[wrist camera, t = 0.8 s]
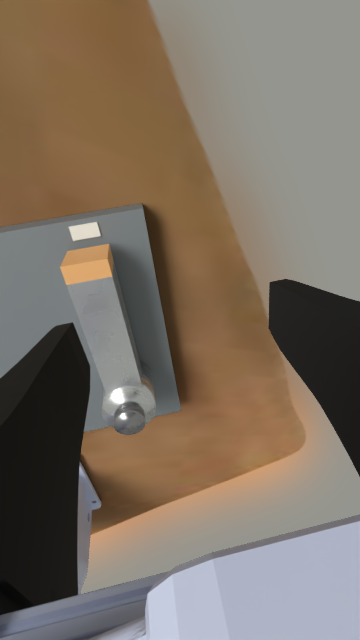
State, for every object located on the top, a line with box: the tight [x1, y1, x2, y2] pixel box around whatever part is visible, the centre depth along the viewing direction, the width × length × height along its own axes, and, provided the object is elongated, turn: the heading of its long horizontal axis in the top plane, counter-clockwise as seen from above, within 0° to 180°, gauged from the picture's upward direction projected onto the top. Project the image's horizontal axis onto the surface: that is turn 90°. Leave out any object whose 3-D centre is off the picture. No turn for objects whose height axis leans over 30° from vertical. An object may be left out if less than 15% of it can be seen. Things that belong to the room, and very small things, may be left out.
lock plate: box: [0, 203, 181, 435], centre depth 20 cm, size 17×16×6 cm
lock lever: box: [60, 244, 156, 427], centre depth 20 cm, size 12×4×3 cm, turn 7°
